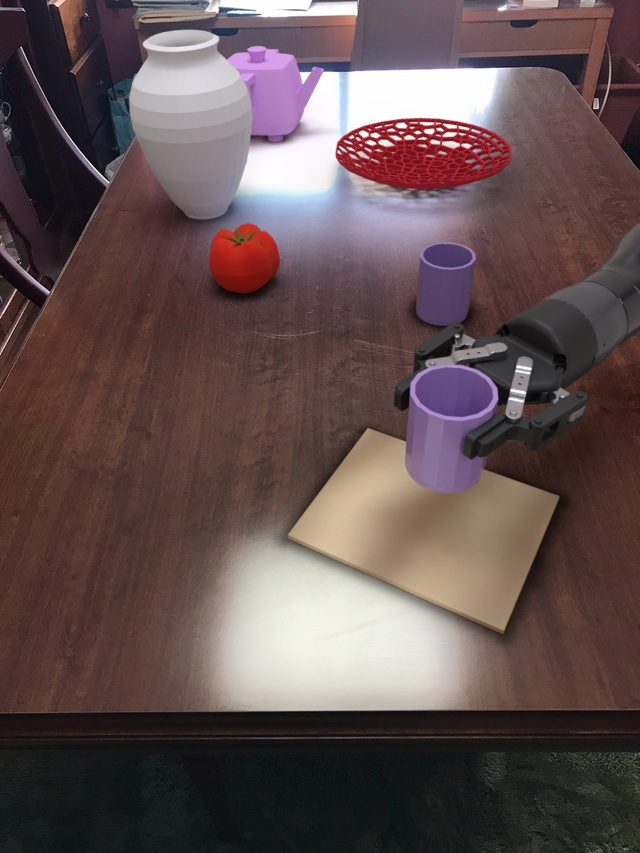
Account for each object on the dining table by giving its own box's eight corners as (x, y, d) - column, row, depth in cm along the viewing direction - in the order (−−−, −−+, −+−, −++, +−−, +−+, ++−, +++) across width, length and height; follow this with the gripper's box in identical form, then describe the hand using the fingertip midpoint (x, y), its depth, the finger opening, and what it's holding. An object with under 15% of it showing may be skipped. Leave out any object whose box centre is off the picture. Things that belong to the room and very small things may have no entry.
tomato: (211, 302, 91) (203, 251, 86) (215, 268, 98) (208, 219, 93) (281, 299, 91) (277, 248, 86) (281, 265, 98) (278, 216, 93)
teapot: (200, 128, 140) (188, 45, 129) (276, 108, 147) (271, 29, 137) (248, 157, 128) (239, 69, 118) (327, 134, 135) (326, 50, 125)
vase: (241, 239, 104) (221, 58, 87) (132, 230, 107) (92, 53, 90) (273, 190, 117) (260, 23, 100) (174, 183, 120) (146, 21, 103)
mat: (558, 500, 64) (559, 496, 64) (502, 634, 54) (504, 630, 54) (367, 431, 72) (367, 427, 72) (287, 539, 62) (287, 534, 62)
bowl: (357, 140, 133) (357, 113, 129) (513, 152, 126) (517, 123, 123) (315, 205, 112) (314, 175, 109) (499, 223, 106) (504, 192, 102)
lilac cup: (475, 305, 89) (483, 249, 84) (456, 331, 85) (463, 274, 80) (427, 293, 92) (432, 237, 86) (407, 317, 87) (411, 261, 82)
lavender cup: (495, 452, 59) (510, 379, 53) (467, 504, 55) (479, 431, 49) (423, 427, 61) (430, 355, 56) (391, 475, 57) (395, 402, 52)
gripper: (502, 269, 62) (367, 343, 54) (649, 338, 54) (514, 437, 46) (490, 337, 67) (366, 414, 59) (623, 410, 59) (498, 510, 51)
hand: (431, 424), depth 53 cm, fingers closed on lavender cup, 6 cm apart
